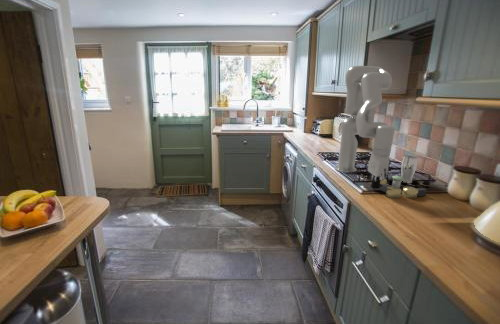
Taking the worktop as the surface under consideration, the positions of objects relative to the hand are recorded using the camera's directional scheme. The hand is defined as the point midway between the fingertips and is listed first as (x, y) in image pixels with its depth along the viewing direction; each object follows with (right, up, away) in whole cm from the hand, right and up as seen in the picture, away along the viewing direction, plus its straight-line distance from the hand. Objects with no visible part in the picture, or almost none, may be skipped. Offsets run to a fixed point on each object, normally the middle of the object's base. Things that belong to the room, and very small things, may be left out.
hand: (374, 187), depth 128 cm
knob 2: (+15, -3, -6) cm, 17 cm away
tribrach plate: (+9, -3, 0) cm, 9 cm away
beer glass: (+23, +1, +13) cm, 26 cm away
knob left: (+5, +1, +7) cm, 9 cm away
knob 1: (+5, -3, -5) cm, 7 cm away
